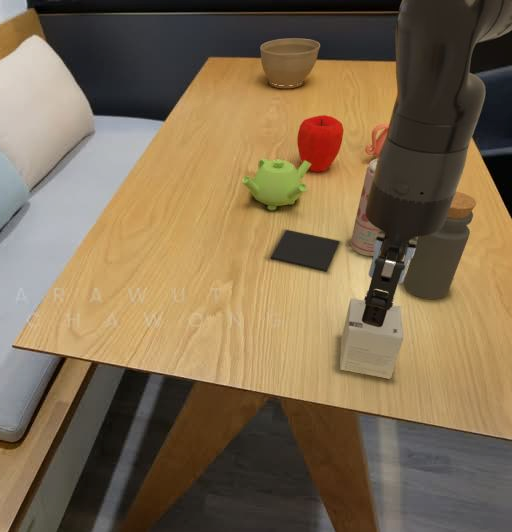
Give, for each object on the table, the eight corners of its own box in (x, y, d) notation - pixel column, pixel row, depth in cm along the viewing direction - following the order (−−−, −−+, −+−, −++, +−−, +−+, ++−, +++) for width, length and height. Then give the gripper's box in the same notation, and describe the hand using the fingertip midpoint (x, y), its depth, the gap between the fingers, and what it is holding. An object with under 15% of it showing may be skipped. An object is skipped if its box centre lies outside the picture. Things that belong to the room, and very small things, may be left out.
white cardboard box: (389, 346, 69) (402, 305, 65) (390, 380, 65) (405, 338, 60) (340, 337, 71) (349, 296, 67) (338, 370, 67) (348, 328, 62)
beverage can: (351, 256, 86) (370, 173, 77) (348, 236, 90) (365, 156, 81) (389, 258, 84) (413, 174, 75) (384, 238, 89) (405, 157, 80)
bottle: (449, 281, 78) (482, 193, 70) (445, 304, 75) (479, 214, 66) (406, 271, 81) (433, 185, 72) (400, 293, 77) (427, 205, 68)
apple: (299, 156, 116) (306, 108, 110) (341, 162, 112) (350, 113, 106) (288, 173, 110) (294, 123, 104) (331, 180, 106) (340, 129, 100)
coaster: (339, 242, 89) (339, 240, 89) (326, 272, 83) (327, 270, 83) (286, 231, 93) (286, 229, 93) (270, 258, 87) (270, 256, 87)
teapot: (252, 183, 108) (255, 145, 103) (310, 190, 104) (316, 150, 99) (239, 210, 100) (241, 170, 95) (301, 219, 96) (307, 177, 91)
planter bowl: (279, 72, 164) (283, 35, 157) (325, 81, 153) (331, 42, 147) (246, 86, 156) (248, 48, 150) (292, 97, 145) (297, 56, 139)
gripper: (451, 223, 46) (404, 350, 56) (462, 156, 56) (420, 275, 65) (361, 206, 50) (331, 329, 59) (385, 146, 59) (356, 261, 69)
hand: (378, 301), depth 62 cm, fingers open, 8 cm apart
